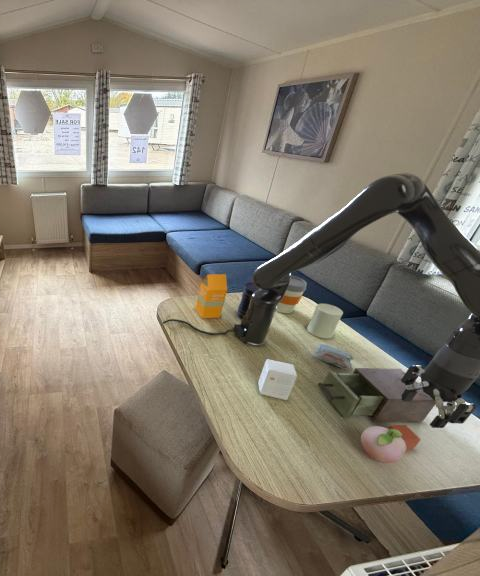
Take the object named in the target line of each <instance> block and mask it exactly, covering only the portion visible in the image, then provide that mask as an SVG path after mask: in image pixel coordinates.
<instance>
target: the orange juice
mask: <svg viewBox="0 0 480 576" xmlns="http://www.w3.org/2000/svg"><path fill="white" fill-rule="evenodd" d="M227 293H228V281H227V274H226V273H217V274H207V275H206V276H204V278H203V279H202V280H201V282H200V286H199V291H198V295H197V300H196V303H195V304H196V305H195V311H196V312H197V314H198V315H199V317H200V318H201V319H211V318H214V319H215V318H221V315H222V311H223V308H224V305H225V300H226V298H227V297H226V296H227Z"/></svg>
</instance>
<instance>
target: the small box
mask: <svg viewBox="0 0 480 576" xmlns="http://www.w3.org/2000/svg"><path fill="white" fill-rule="evenodd" d="M297 378H298V375H297V372H296V368H295V365H294V364H293V363H287V362H282V361H278V360H273V359H268V358H267V359H266V361H265V362H264V365H263V367H262V371H261V373H260V376H259V379H258V381H257V383H258V389H259V394H260V395H263V396H268V397H272V398H276V399H280V400H284V401H287V400H288V399H289V398H290V397H289V396H290V394H291V392H292V390H293V387H294V385H295V384H296V380H297Z"/></svg>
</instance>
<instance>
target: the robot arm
mask: <svg viewBox="0 0 480 576" xmlns="http://www.w3.org/2000/svg"><path fill="white" fill-rule="evenodd" d="M395 213H396V214H398V215H399V216H400V217H402V218H403V219H404V220H405V221H406V222H407V223H408V224H409V225H410V226H411V228H412V229H413V230H414V231H415V233H416V235H417V236H418V239H419V241H420V243H421V245H422V248H423V250H424V252H425V254H426V255H427V258H428V259H429V260H430V261H431V263H432V264H433V265H434V266H435V267H436V268H437V270H438V271H439V272H440V273H441V274H442V275H443V276H444V277H445V278H446V279H447V280H448V281H449V282H450V283H451V285H452V286H453V288H454V290H455V292H456V294H457V295H458V297H459V298H460V301H461V302H462V303H463V305H464V306H465V308H466V309H467V311H469V313H470V314H469V315H468V317H467V318H466V320H465V321H463V322H462V323H460V324H459V325H458V326H457V327H456V328H455V329H454V331H453V332H452V333H451V335H450V336H449V338H448V339H447V340H446V342H445V343H443V345H442V346H440V348H439V349H438V351H436V353H435V354H434V356H433V358H432V359H431V360H430V361H429V363H428V364H427V366H426V367H424V366H423V365H415V364H411V365H409V368H407V370H406V372H405V375H404V376H403V378H402V379H401V382H402V383H404V384H405V385H406V389H405V391H404V392H403V394H402V396H401V397H402V398H401V399H402V400H403V401H404V402H410V401H412V399H413V398H414V397H415V395H416V394H417V391H416V390H422V389H423V392H425V393H426V394H428V395H429V396H430V397H431V398H432V399H433V400H434V401H435V402H436V405H435V407H436V408H437V410H438V414H437V415H436V416H435V417H434V418H433V420H432V421H431V422H430V423H429V426H430V427H431V428H433V429H443V428H445V427H446V426H447V424H459V425H461V424H464V423H465V422H466V421H467V420H468V418H469V417H470V416H471V415H472V414H473V413H474V411H475V410H476V409H477V406H476V404H474V403H470V402H468V401H466V400H465V399H464V398H463V394H464V392H466V391H467V390H468V389H469V388H470V387H471V386H472V384H473V383H474V382H475V381H476V380H477V379H478V378H479V376H480V249H479V248H478V247H476V246H475V245H474V243H472V242H471V241H470V240H469V239H468V238H467V237H466V236H465V234H464V233H463V232H462V231H461V230H460V229H459V228H458V227H457V226H456V224H454V222H453V221H452V220H451V219H450V217H449V216H448V215H447V213H446V212H445V211H444V209H443V208H442V207H441V205H440V204H439V203H438V201H437V199H436V197H434V195H433V193H432V191H431V190H430V188H429V187H428V185H427V184H426V183H425V181H424V180H423V178H421V177H420V176H419V175H417V174H414V173H411V172H410V173H409V172H400V173H395V174H389V175H388V174H387V175H385V176H382V177H379V178H377V179H376V180H374V181H372V182H371V183H370V184H369V185H367V186H366V187H365V188H364V189H362V191H360V192H359V193H358V194H357V195H356V196H355V197H354V198H353V199H352V200H350V201H349V202H348V203H347V204H346V205H345V206H344V207H342V208H341V209H340V210H339V211H337V212H335V213H334V214H332V215H331V216H329V217H327V218H326V219H324V220H323V221H322V222H321V223H319V224H318V225H316V226H314V227H313V228H312V229H310V230H309V231H308V232H306V233H305V234H304V235H302V236H301V237H299V238H298V239H297V240H296V241H295V242H293V243H292V244H290V245H289V246H288V247H287V248H286V249H284V250H283V251H282V252H280V253H279V254H278V255H276V256H275V257H273V258H271V259H270V260H268V261H266V262H264V263H262V264H261V265H259V266H258V267H256V269H254V271H253V274H252V283H254V285H255V286H256V287H258V288H260V289H259V290H257V291H256V292H254V293H253V294H252V297H251V300H250V303H249V307H248V310H247V313H246V315H244V316H243V318H242V319H241V321H240V323H234V325H233V327H232V329H227V330H226V331H224V332H210V331H205V330H201V329H199V328H197V327H196V326H194V325H192V324H191V323H189V322H188V321H185V320H181V319H178V318H177V319H176V318H170V319H167V320H164V321H163V322H162V324H166V323H169V322H176V323H177V322H178V323H182V324H185V325H187V326H189V327H190V328H192V329H193V330H194V331H196V332H199V333H202V334H205V335H210V336H217V335H224V336H225V335H227V334H229V333H232V332H233V333H234V334H235V336H236V337H237V338H240V340H241V342H242V343H243V344H248V345H249V346H254V347H261V346H263V345H265V342H266V338H267V336H268V333H269V331H270V327H271V325H272V322H273V319H274V316H275V313H276V312H277V311H276V308H277V305H278V303H279V302H280V301H281V300H282V299H283V297H284V294H285V292H286V290H287V287H288V285H289V282H290V278H291V276H292V273H293V272H294V273H295V272H296V271H298V270H302V269H304V268H307V267H309V266H312V265H314V264H317V263H319V262H322V261H323V260H324V259H326V258H328V257H329V256H331V255H333V254H335V253H336V252H338V251H339V250H341V249H342V248H343V247H344V246H345V245H346V244H347V243H348V242H349V241H351V239H352V238H353V237H354V236H355V235H356V234H357V233H358V232H360V231H361V230H363V229H364V228H366V227H368V226H370V225H372V224H373V223H374V222H377V221H378V220H381V219H383V218H385V217H387V216H389V215H392V214H395ZM419 377H420V382H417V379H418V378H419ZM415 381H416V382H417V383H414V382H415ZM444 403H446V404H444Z"/></svg>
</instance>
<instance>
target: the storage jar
mask: <svg viewBox="0 0 480 576" xmlns="http://www.w3.org/2000/svg"><path fill="white" fill-rule="evenodd" d="M259 289H260V288H258V287H256V286H255V285H254V283H253V282H246V283H245V284H244V287H243V290H242V294H241V299H240V302H239V305H238V307H237V311H236V316H237V318H239V319H240V320H242V318H243V316H244V315H246V313H247V310H248V307H249V303H250V300H251V297H252V294H253V293H254V292H256V291H257V290H259Z"/></svg>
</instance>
